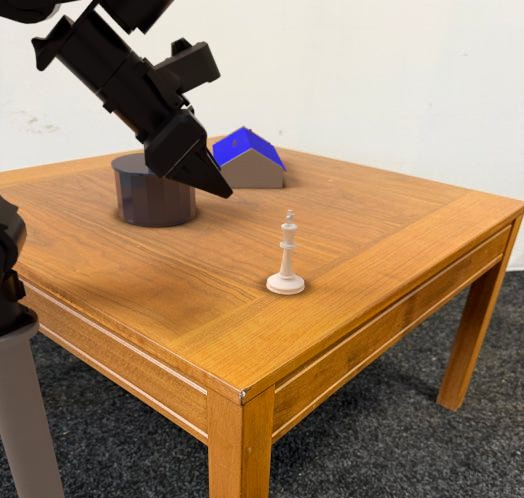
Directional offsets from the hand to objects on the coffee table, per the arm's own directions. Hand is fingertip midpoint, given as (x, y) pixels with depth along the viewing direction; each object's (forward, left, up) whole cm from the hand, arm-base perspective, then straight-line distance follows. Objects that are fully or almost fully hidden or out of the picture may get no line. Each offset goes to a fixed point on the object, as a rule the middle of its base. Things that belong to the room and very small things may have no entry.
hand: (224, 183), depth 62 cm
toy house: (+46, +32, -13) cm, 57 cm away
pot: (+15, +27, -13) cm, 33 cm away
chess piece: (+6, -5, -13) cm, 16 cm away
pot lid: (+15, +27, -5) cm, 31 cm away
